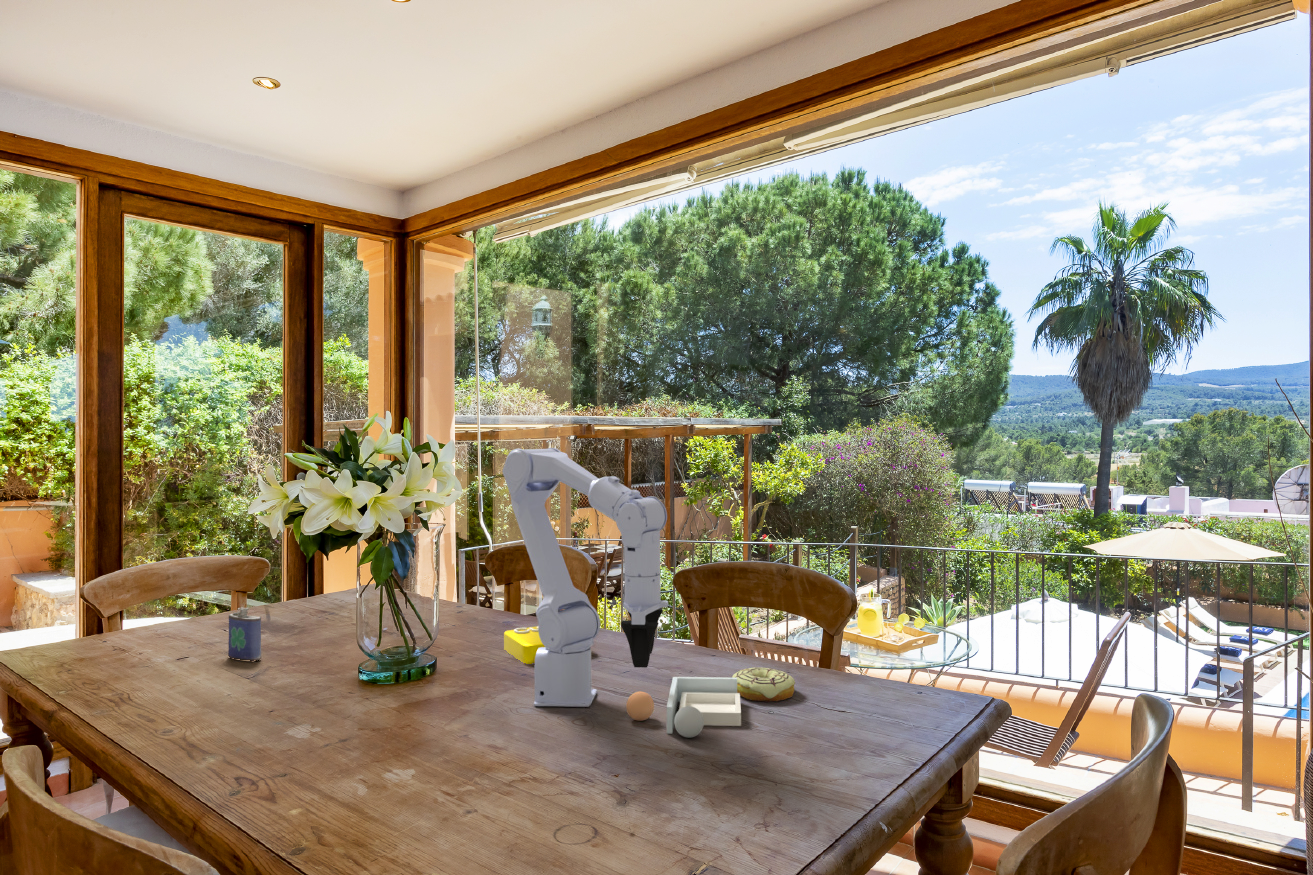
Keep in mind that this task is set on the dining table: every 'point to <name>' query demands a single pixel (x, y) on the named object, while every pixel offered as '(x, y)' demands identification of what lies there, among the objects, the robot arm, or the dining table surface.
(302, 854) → the dining table surface
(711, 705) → the ceramic dish
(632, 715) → the terracotta ball
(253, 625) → the flask
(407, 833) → the dining table surface
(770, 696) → the decorated donut
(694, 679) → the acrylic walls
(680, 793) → the dining table surface
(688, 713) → the grey ball
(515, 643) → the element tile
